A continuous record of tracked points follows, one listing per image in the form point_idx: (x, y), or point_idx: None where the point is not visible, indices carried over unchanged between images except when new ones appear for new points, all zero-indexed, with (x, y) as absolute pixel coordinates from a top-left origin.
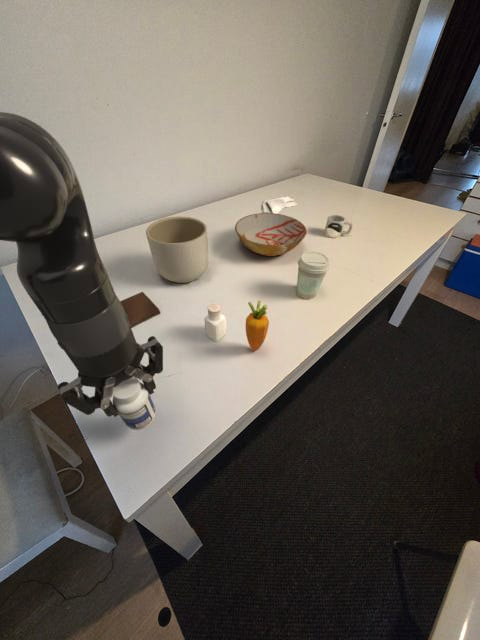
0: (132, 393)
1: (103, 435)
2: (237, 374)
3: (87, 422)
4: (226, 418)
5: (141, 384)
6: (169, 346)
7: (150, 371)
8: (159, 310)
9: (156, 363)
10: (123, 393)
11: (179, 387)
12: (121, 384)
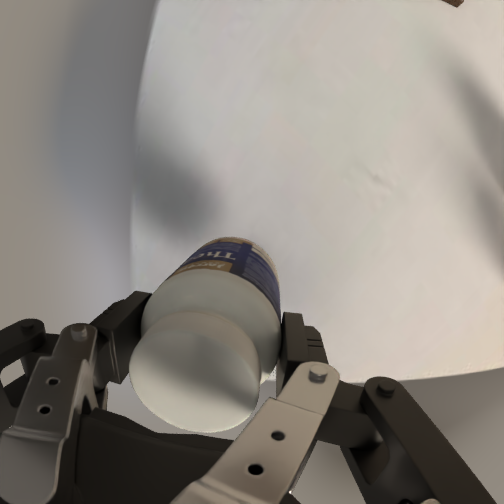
0: (200, 429)
1: (154, 202)
2: (469, 311)
3: (142, 143)
4: (375, 371)
5: (271, 346)
6: (431, 99)
7: (327, 440)
8: (461, 2)
9: (367, 495)
10: (168, 404)
11: (371, 233)
12: (178, 368)
